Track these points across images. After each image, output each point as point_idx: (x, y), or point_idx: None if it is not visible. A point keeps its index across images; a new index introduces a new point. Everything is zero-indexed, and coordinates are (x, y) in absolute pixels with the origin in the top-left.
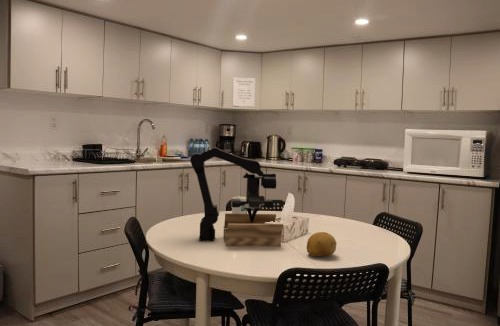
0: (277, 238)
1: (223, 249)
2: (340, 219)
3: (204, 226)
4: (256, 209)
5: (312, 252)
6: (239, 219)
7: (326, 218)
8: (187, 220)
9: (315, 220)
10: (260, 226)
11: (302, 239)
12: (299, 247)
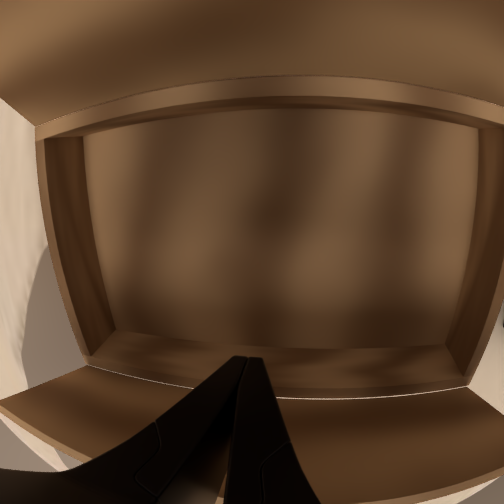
0: (60, 120)
1: None
2: (17, 434)
3: None
4: (17, 501)
5: None
6: (385, 450)
7: (41, 452)
8: (450, 496)
9: (53, 453)
10: None
11: (10, 276)
12: (14, 126)
